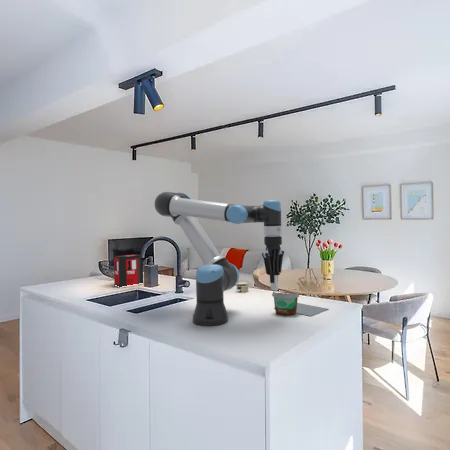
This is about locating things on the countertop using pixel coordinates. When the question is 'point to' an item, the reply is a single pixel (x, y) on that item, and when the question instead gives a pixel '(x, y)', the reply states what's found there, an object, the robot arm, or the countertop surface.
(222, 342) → the countertop surface
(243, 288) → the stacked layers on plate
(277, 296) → the food container
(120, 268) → the cleaning product box
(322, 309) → the rubber mat
